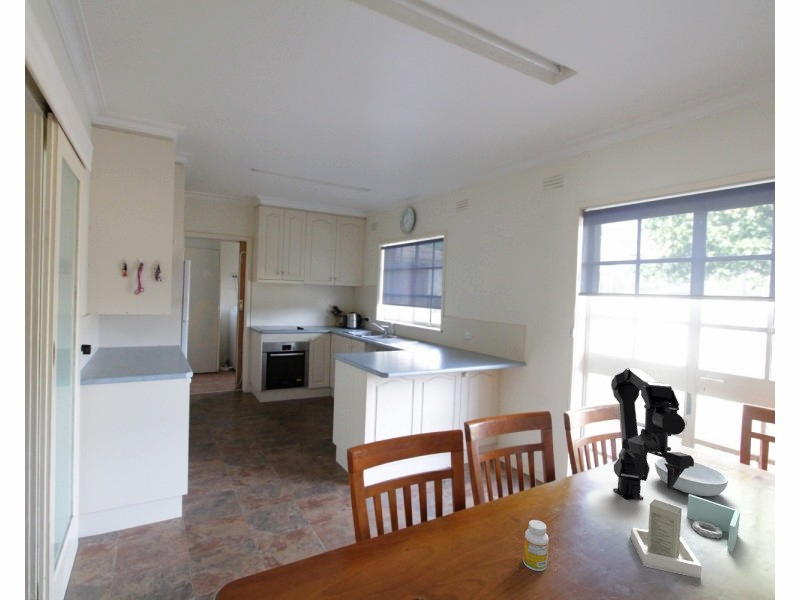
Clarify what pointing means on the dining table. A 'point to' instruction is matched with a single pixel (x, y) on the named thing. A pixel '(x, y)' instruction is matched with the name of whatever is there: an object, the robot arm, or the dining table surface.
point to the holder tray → (679, 565)
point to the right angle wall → (713, 519)
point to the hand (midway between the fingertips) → (654, 482)
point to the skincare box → (664, 529)
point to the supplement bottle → (536, 546)
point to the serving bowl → (695, 479)
